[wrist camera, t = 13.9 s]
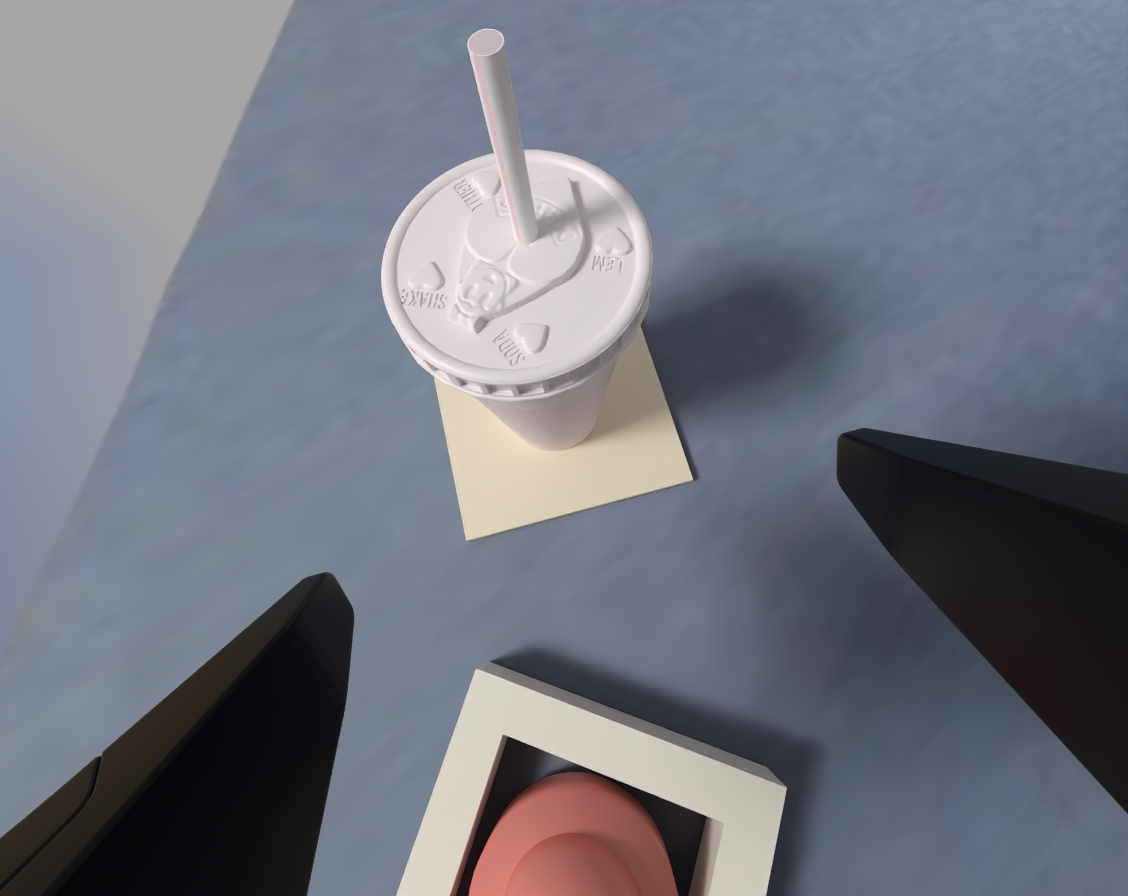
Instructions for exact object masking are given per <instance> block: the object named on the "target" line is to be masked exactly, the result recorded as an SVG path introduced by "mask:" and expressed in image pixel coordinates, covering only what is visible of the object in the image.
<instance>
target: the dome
mask: <svg viewBox="0 0 1128 896" xmlns="http://www.w3.org/2000/svg"><path fill="white" fill-rule="evenodd" d="M469 896H678V892H677V888H676V884H675V880H674V876H673V873H672V869H671V865H670V861H669V857H668V854H667V850H666V846H665V844H664V841H663V839H662V836H661V834H660V832H659V830H658V828H657V826H656V824H655V823H654V821H653V819H652V818H651V816H650V815H649V814H648V812H647V811H646V809H645V808H644V807H643V806H642V805H641V804H640V802H639V801H638V800H637V799H636V798H635V797H634V796H632V795H631V794H630V793H629V792H628V791H627V790H625V789H624V788H622V787H621V786H619V785H618V784H616V783H614V782H612V781H610V780H608V779H606V778H604V777H601V776H598V775H594V774H590V773H584V772H565V773H558V774H554V775H551V776H547V777H545V778H542V779H540V780H538V781H536V782H534V783H533V784H531V785H530V786H528V787H526V788H525V789H524V790H523V791H521V792H520V793H519V794H518V795H517V796H516V797H515V798H514V799H513V800H512V801H511V802H510V803H509V805H508V806H507V807H506V808H505V810H504V811H503V813H502V814H501V816H500V817H499V819H498V821H497V823H496V825H495V827H494V829H493V831H492V833H491V835H490V837H489V839H488V841H487V843H486V846H485V848H484V850H483V852H482V854H481V856H480V858H479V861H478V863H477V866H476V869H475V871H474V874H473V878H472V882H471V886H470V891H469Z"/></svg>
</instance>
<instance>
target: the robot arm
mask: <svg viewBox="0 0 1128 896" xmlns="http://www.w3.org/2000/svg"><path fill="white" fill-rule="evenodd" d="M837 480H838V483H839V485H840V487H841V489H842V490H843V492H844V493H845V494H846V496H847V497H848V498H849V500H850V501H851V502H852V504H853V505H854V507H855V508H856V509H857V511H858V512H859V513H860V515H861V516H862V517H863V519H864V520H865V521H866V523H867V524H868V526H869V527H870V528H871V530H872V531H873V532H874V534H875V535H876V536H877V538H878V539H879V540H880V542H881V543H882V545H883V546H884V547H885V548H886V550H887V551H888V552H889V553H890V555H891V556H892V557H893V558H894V559H895V560H896V562H897V563H898V564H899V565H900V566H901V567H902V568H903V569H904V571H905V572H906V573H907V574H908V575H909V576H910V577H911V578H912V579H913V580H914V581H915V583H916V584H917V585H918V586H919V587H920V588H921V589H922V590H923V591H924V592H925V593H926V595H927V596H928V597H929V598H930V599H931V600H932V601H933V602H934V603H935V604H936V605H937V607H938V608H939V609H940V610H941V611H942V612H943V613H944V614H945V615H946V616H947V617H948V619H949V620H950V621H951V622H952V623H953V624H954V625H955V626H956V627H957V628H958V629H959V631H960V632H961V633H962V634H963V635H964V636H965V637H966V638H967V639H968V640H969V641H970V643H971V644H972V645H973V646H974V647H975V648H976V649H977V650H978V651H979V652H980V653H981V654H982V656H983V657H984V658H985V659H986V660H987V661H988V662H989V663H990V664H991V665H992V666H993V668H994V669H995V670H996V671H997V672H998V673H999V674H1000V675H1001V676H1002V677H1003V678H1004V680H1005V681H1006V682H1007V683H1008V684H1009V685H1010V686H1011V687H1012V688H1013V689H1014V690H1015V692H1016V693H1017V694H1018V695H1019V696H1020V697H1021V698H1022V699H1023V700H1024V701H1025V702H1026V704H1027V705H1028V706H1029V707H1030V708H1031V709H1032V710H1033V711H1034V712H1035V713H1036V714H1037V716H1038V717H1039V718H1040V719H1041V720H1042V721H1043V722H1044V723H1045V724H1046V725H1047V726H1048V728H1049V729H1050V730H1051V731H1052V732H1053V733H1054V734H1055V735H1056V736H1057V737H1058V738H1059V739H1060V741H1061V742H1062V743H1063V744H1064V745H1065V746H1066V747H1067V748H1068V749H1069V750H1070V751H1071V753H1072V754H1073V755H1074V756H1075V757H1076V758H1077V759H1078V760H1079V761H1080V762H1081V763H1082V765H1083V766H1084V767H1085V768H1086V769H1087V770H1088V771H1089V772H1090V773H1091V774H1092V775H1093V777H1094V778H1095V779H1096V780H1097V781H1098V782H1099V783H1100V784H1101V785H1102V786H1103V787H1104V789H1105V790H1106V791H1107V792H1108V793H1109V794H1110V795H1111V796H1112V797H1113V798H1114V799H1115V801H1116V802H1117V803H1118V804H1119V805H1120V806H1121V807H1122V808H1123V809H1124V810H1125V811H1126V813H1127V814H1128V474H1123V473H1117V472H1112V471H1106V470H1100V469H1095V468H1089V467H1083V466H1078V465H1072V464H1067V463H1061V462H1055V461H1050V460H1044V459H1038V458H1033V457H1027V456H1021V455H1016V454H1010V453H1004V452H999V451H993V450H987V449H982V448H976V447H970V446H965V445H959V444H953V443H948V442H942V441H936V440H931V439H925V438H919V437H914V436H908V435H902V434H897V433H891V432H885V431H880V430H874V429H868V428H861V429H857V430H853V431H850V432H846V433H843V434H841V435H840V436H839V438H838V441H837ZM353 628H354V612H353V608H352V605H351V603H350V602H349V600H348V598H347V597H346V595H345V593H344V591H343V590H342V588H341V586H340V584H339V583H338V581H337V579H336V578H335V576H334V575H333V574H331V573H329V572H324V573H320V574H316V575H313V576H309V577H306V578H304V579H303V580H301V581H300V582H299V583H298V584H297V585H296V586H295V587H293V588H292V589H291V590H290V591H289V592H288V593H286V594H285V595H284V596H283V597H282V598H281V599H279V600H278V601H277V602H276V603H275V604H274V605H272V606H271V607H270V608H269V609H268V610H267V611H266V612H264V613H263V614H262V615H261V616H260V617H259V618H257V619H256V620H255V621H254V622H253V623H252V624H250V625H249V626H248V627H247V628H246V629H245V630H243V631H242V632H241V633H240V634H239V635H238V636H236V637H235V638H234V639H233V640H232V641H231V642H230V643H228V644H227V645H226V646H225V647H224V648H223V649H221V650H220V651H219V652H218V653H217V654H216V655H214V656H213V657H212V658H211V659H210V660H209V661H207V662H206V663H205V664H204V665H203V666H202V667H200V668H199V669H198V670H197V671H196V672H195V673H194V674H192V675H191V676H190V677H189V678H188V679H187V680H185V681H184V682H183V683H182V684H181V685H180V686H178V687H177V688H176V689H175V690H174V691H173V692H171V693H170V694H169V695H168V696H167V697H166V698H164V699H163V700H162V701H161V702H160V703H159V704H158V705H156V706H155V707H154V708H153V709H152V710H151V711H149V712H148V713H147V714H146V715H145V716H144V717H142V718H141V719H140V720H139V721H138V722H137V723H135V724H134V725H133V726H132V727H131V728H130V729H129V730H127V731H126V732H125V733H124V734H123V735H122V736H120V737H119V738H118V739H117V740H116V741H115V742H113V743H112V744H111V745H110V746H109V747H108V748H106V749H105V750H104V751H103V753H102V757H101V756H98V757H96V758H95V759H93V760H92V761H91V762H90V763H89V764H88V765H87V766H85V767H84V768H83V769H82V770H81V771H80V772H78V773H77V774H76V775H75V776H74V777H73V778H71V779H70V780H69V781H68V782H67V783H66V784H64V785H63V786H62V787H61V788H60V789H58V790H57V791H56V792H55V793H54V794H53V795H51V796H50V797H49V798H48V799H47V800H45V801H44V802H43V803H42V804H41V805H40V806H38V807H37V808H36V809H35V810H34V811H32V812H31V813H30V814H29V815H28V816H26V817H25V818H24V819H23V820H22V821H21V822H19V823H18V824H17V825H16V826H14V827H13V828H12V829H11V830H9V831H8V832H7V833H6V834H5V835H3V836H2V837H1V838H0V896H307V892H308V887H309V882H310V877H311V873H312V868H313V863H314V858H315V853H316V848H317V843H318V838H319V834H320V829H321V824H322V819H323V814H324V809H325V804H326V800H327V795H328V790H329V785H330V780H331V775H332V770H333V765H334V761H335V756H336V751H337V746H338V741H339V736H340V731H341V726H342V722H343V717H344V711H345V706H346V699H347V691H348V682H349V671H350V660H351V649H352V639H353Z"/></svg>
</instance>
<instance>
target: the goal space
mask: <svg viewBox="0 0 1128 896" xmlns="http://www.w3.org/2000/svg"><path fill="white" fill-rule="evenodd" d="M434 380H435V385H436V390H437V395H438V400H439V405H440V410H441V415H442V420H443V425H444V430H445V435H446V440H447V445H448V450H449V455H450V460H451V466H452V471H453V476H454V481H455V486H456V491H457V496H458V501H459V506H460V511H461V516H462V521H463V526H464V531H465V536H466V541H468V542H469V541H472V540H476V539H480V538H484V537H487V536H491V535H495V534H498V533H502V532H506V531H510V530H513V529H517V528H521V527H524V526H528V525H532V524H536V523H539V522H543V521H547V520H551V519H554V518H558V517H562V516H565V515H569V514H573V513H577V512H580V511H584V510H588V509H591V508H595V507H599V506H603V505H606V504H610V503H614V502H617V501H621V500H625V499H629V498H632V497H636V496H640V495H644V494H647V493H651V492H655V491H658V490H662V489H666V488H670V487H673V486H677V485H681V484H684V483H688V482H692V481H693V478H692V475H691V472H690V469H689V466H688V463H687V460H686V457H685V454H684V451H683V448H682V445H681V443H680V440H679V437H678V434H677V431H676V428H675V425H674V422H673V419H672V416H671V413H670V410H669V408H668V405H667V402H666V399H665V396H664V393H663V390H662V387H661V384H660V381H659V378H658V375H657V372H656V370H655V367H654V364H653V361H652V358H651V355H650V352H649V349H648V346H647V343H646V340H645V337H644V334H643V332H642V329H641V326H640V327H639V329H638V331H637V334H636V336H635V338H634V340H633V341H632V342H631V343H630V344H629V346H628V347H627V348H626V349H625V350H624V351H623V352H622V354H621V355H620V356H619V357H618V359H617V362H616V365H615V368H614V371H613V374H612V377H611V380H610V383H609V386H608V389H607V392H606V395H605V398H604V401H603V404H602V407H601V410H600V413H599V416H598V419H597V422H596V424H595V426H594V428H593V430H592V431H591V433H590V434H589V435H588V436H587V437H586V438H585V439H584V440H583V441H582V442H580V443H579V444H577V445H575V446H573V447H571V448H568V449H565V450H560V451H545V450H540V449H537V448H535V447H532V446H530V445H529V444H527V443H526V442H524V441H523V440H522V439H521V438H520V437H519V436H518V435H516V434H515V433H514V432H513V431H512V430H511V429H510V428H509V427H508V426H506V425H505V424H504V423H503V422H502V421H501V420H500V419H499V418H498V417H496V416H495V415H494V414H493V413H492V412H491V411H490V410H489V409H488V408H486V407H485V406H484V405H483V404H482V403H481V402H480V401H479V400H478V399H476V398H475V397H473V396H470V395H468V394H466V393H463V392H461V391H459V390H456V389H454V388H452V387H449V386H447V385H445V384H443V383H441V382H440V381H439V380H438V379H437V378H435V377H434Z"/></svg>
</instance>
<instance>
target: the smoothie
mask: <svg viewBox="0 0 1128 896" xmlns="http://www.w3.org/2000/svg"><path fill="white" fill-rule="evenodd" d="M468 50H469V54H470V58H471V62H472V66H473V70H474V74H475V78H476V82H477V86H478V90H479V94H480V98H481V103H482V107H483V111H484V115H485V119H486V123H487V127H488V131H489V135H490V139H491V143H492V147H493V151H494V153H491V154H488V155H485V156H482V157H479V158H476V159H472V160H469V161H467V162H465V163H463V164H461V165H459V166H456V167H455V168H453V169H451V170H449V171H447V172H445V173H444V174H442V175H441V176H440V177H438V178H436V179H435V180H434V181H432V182H431V183H430V184H428V185H427V186H426V187H425V188H424V189H423V190H422V191H421V192H420V193H419V194H417V195H416V197H415V198H414V199H413V200H412V201H411V202H410V203H409V204H408V206H407V207H406V208H405V210H404V211H403V212H402V214H401V215H400V217H399V218H398V220H397V222H396V223H395V225H394V227H393V229H392V231H391V233H390V236H389V239H388V241H387V244H386V248H385V251H384V255H383V261H382V271H381V282H382V292H383V298H384V302H385V305H386V308H387V312H388V314H389V316H390V318H391V321H392V323H393V324H394V326H395V328H396V329H397V331H398V333H399V334H400V337H401V339H402V340H403V342H404V343H405V345H406V346H407V348H408V349H409V351H410V352H411V354H412V355H413V357H414V358H415V360H416V361H417V363H418V364H419V365H421V366H422V367H423V368H424V369H425V370H427V371H428V372H429V373H430V374H432V375H433V376H434V377H435V378H437V379H438V380H439V381H440V382H441V383H443V384H445V385H447V386H449V387H452V388H454V389H456V390H459V391H461V392H463V393H466V394H468V395H470V396H473V397H475V398H476V399H478V400H479V401H480V402H481V403H482V404H483V405H484V406H485V407H486V408H488V409H489V410H490V411H491V412H492V413H493V414H494V415H495V416H496V417H498V418H499V419H500V420H501V421H502V422H503V423H504V424H505V425H506V426H508V427H509V428H510V429H511V430H512V431H513V432H514V433H515V434H516V435H518V436H519V437H520V438H521V439H522V440H523V441H524V442H526V443H527V444H529V445H530V446H532V447H535V448H537V449H540V450H545V451H560V450H565V449H568V448H571V447H573V446H575V445H577V444H579V443H580V442H582V441H583V440H584V439H585V438H586V437H587V436H588V435H589V434H590V433H591V431H592V430H593V428H594V426H595V424H596V422H597V419H598V416H599V413H600V410H601V407H602V404H603V401H604V398H605V395H606V392H607V389H608V386H609V383H610V380H611V377H612V374H613V371H614V368H615V365H616V362H617V359H618V357H619V356H620V355H621V354H622V352H623V351H624V350H625V349H626V348H627V347H628V346H629V344H630V343H631V342H632V341H633V340H634V338H635V336H636V334H637V331H638V329H639V327H640V325H641V323H642V321H643V319H644V317H645V315H646V313H647V311H648V305H649V299H650V292H651V285H652V273H651V272H652V244H651V237H650V234H649V230H648V226H647V224H646V221H645V218H644V216H643V214H642V212H641V210H640V208H639V207H638V205H637V204H636V202H635V201H634V199H633V198H632V196H631V195H630V194H629V193H628V192H627V190H626V189H625V188H624V187H623V186H622V185H621V184H620V183H619V182H618V181H617V180H615V179H614V178H613V177H611V176H610V175H609V174H608V173H606V172H604V171H603V170H601V169H600V168H598V167H596V166H594V165H592V164H590V163H588V162H586V161H584V160H581V159H579V158H576V157H573V156H569V155H566V154H563V153H557V152H552V151H545V150H524V148H523V143H522V137H521V132H520V126H519V120H518V115H517V109H516V104H515V98H514V92H513V87H512V81H511V76H510V70H509V65H508V59H507V53H506V48H505V42H504V37H503V35H502V34H501V33H500V32H499V31H497V30H494V29H483V30H479V31H477V32H475V33H474V34H473V35H472V36H471V37H470V38H469V40H468Z"/></svg>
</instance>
